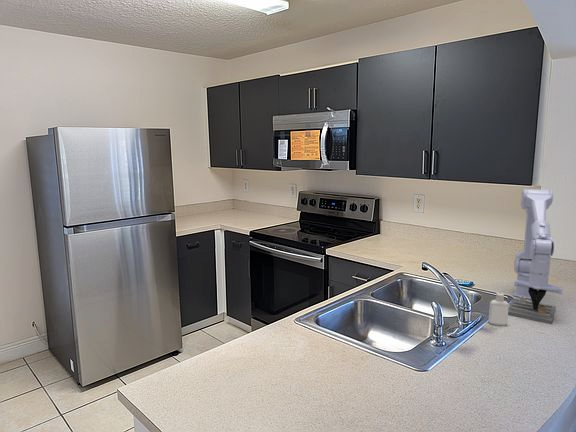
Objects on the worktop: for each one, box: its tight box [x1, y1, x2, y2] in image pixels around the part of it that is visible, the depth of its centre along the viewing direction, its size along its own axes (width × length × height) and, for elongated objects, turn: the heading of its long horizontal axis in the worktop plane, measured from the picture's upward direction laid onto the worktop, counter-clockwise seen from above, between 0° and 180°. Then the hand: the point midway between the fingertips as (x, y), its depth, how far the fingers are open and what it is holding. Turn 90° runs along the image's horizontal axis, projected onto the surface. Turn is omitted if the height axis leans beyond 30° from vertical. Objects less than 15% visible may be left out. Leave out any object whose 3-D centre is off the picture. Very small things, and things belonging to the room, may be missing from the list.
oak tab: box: [538, 305, 546, 313], centre depth 144 cm, size 2×2×3 cm
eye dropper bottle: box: [488, 289, 510, 326], centre depth 139 cm, size 4×6×12 cm
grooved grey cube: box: [518, 295, 527, 303], centre depth 154 cm, size 2×2×3 cm
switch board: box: [508, 298, 557, 325], centre depth 149 cm, size 16×14×2 cm
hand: (535, 308), depth 145 cm, fingers closed
